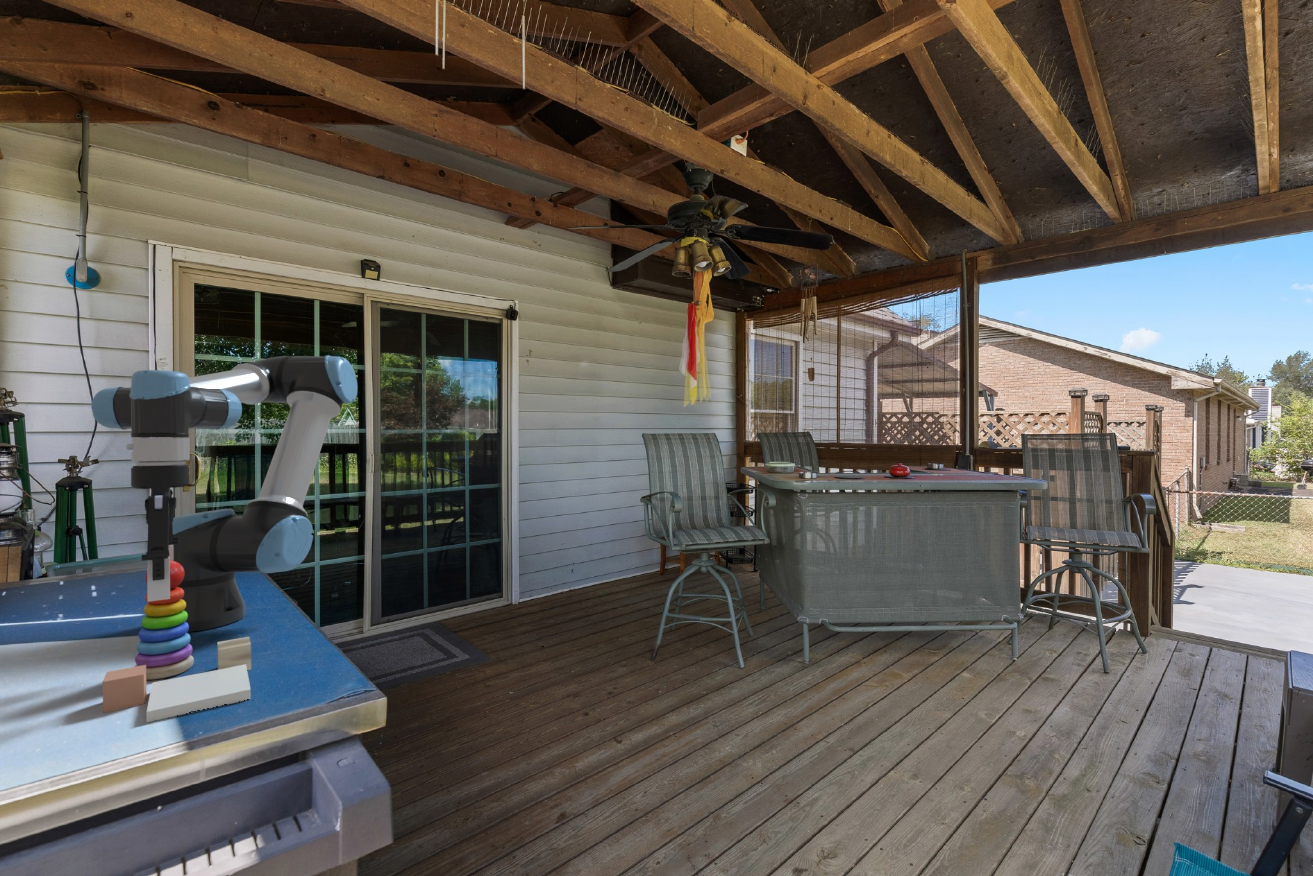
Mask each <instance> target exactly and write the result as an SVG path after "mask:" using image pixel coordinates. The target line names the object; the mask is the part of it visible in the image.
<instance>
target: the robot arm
mask: <svg viewBox="0 0 1313 876" xmlns="http://www.w3.org/2000/svg"><path fill="white" fill-rule="evenodd" d="M356 375H357V374H356V372H355V370H354V368H353V366H352V364H351V363H350V362H349V360H348V359H346V358H344V357H342V356H333V355H329V354H328V355H327V354H326V355H325V356H321V355H320V356H317V355H316V356H310V355H309V356H308V355H305V356H304V355H292V356H291V355H282V356H273V357H269V358H264V359H260V360H256V361H251V362H246V363H241V364H237V365H236V366H234V367H233V368H231V370H225V371H221V372H215V373H209V374H203V375H198V376H191V377H189V376H188V375H187V373H184V372H181V371H174V370H161V369H160V370H157V369H156V370H155V369H152V370H151V369H145V370H144V369H142V370H137V371H135V372H134V373H133V374H132V376H131V381H130V382H131V384H130V387H124V386H117V387H107V388H103V389H101V390H99V391H98V392H96V394H95V395H94V396H93V398H92V400H91V404H90V405H91V413H92V416H93V418H94V419H95V422H96V423H98V424H99V425H101V426H103V427H105V428H107V429H108V428H109V429H120V430H131V432H130V438H131V441H130V442H132V443H127V444H126V446H125V448H126V450H128V451H131V452H130V453H131V455H130V456H131V459H130V460H131V462H133V463H136V465H132V467H131V468H130V486H131V487H132V488H133V489H138V490H146V489H150V495H149V496H148V498H146V499H145V500H144V511H145V512H146V513H145V522H146V524H147V547H146V548H147V550H146V553H145V554H141V561H142V562H144V561H147V562H146V563H147V570H146V573H147V582H146V584H147V585H146V586H147V591H146V594H147V598H148V602H150V601H157V600H165V599H170V560H171V561H175V562H178V563H179V564H181V565H182V567H183V569H184V573H185V574H184V578H183V580H182V582H181V583H180V584H179V585H178V586H177V587H179V588H181V589H183V591H184V596H183V597H182V598H181V599H182V600H184V601H185V602H186V607H185V609H184V611H186V612H187V614H188V618H187V620H186V621H185V622H187V623H188V625H189V629H188V631H187V633H190V632H196V631H205V630H209V629H210V630H211V629H215V628H218V627H222V626H223V627H224V626H225V625H226V626H227V625H229V624H230V625H231V624H232V623H236V622H237V621H240V620H242V619H243V618H244V617H245V616H246V603H245V601H244V599H243V596H242V593H241V592H240V590H239V587H238V584H237V582H236V573H264V574H272V573H279V572H288V571H291V570H294V569H295V568H296V567H298V566H299V565H300V564H301V563H303V562H304V561H305V559H306V558H307V556H308V554H309V552H310V550H311V547H312V545H313V544H312V543H313V539H314V535H312V534H313V532H314V529H313V524H312V523H311V521H310V520H309V519H308V516H309V515H308V512H307V511H306V509H305V508H304V503H305V499H306V497H307V494H308V491H309V488H310V484H311V481H312V478H313V475H314V471H315V469H316V467H317V466H316V465H317V462H318V460H319V457H320V454H321V453H320V452H321V450H322V447H323V444H324V441H325V437H326V435H327V431H328V428H329V426H330V422H331V420H332V419H333V418H336V417H338V416H339V415H340V414H341V410H342V408H343V405H348V404H352V403H353V402H355V400H356V399H357V395H358V381H357V376H356ZM242 403H243V404H245V405H257V404H260V403H273V404H275V403H278V404H287V405H288V406H289V407H290V410H289V413H288V415H287V419H286V421H285V423H284V426H283V429H282V432H281V433H280V434H281V435H280V438H279V440H278V442H277V445H276V448H275V450H274V454H273V456H272V459H271V461H270V465H269V466H268V470H267V473H266V476H265V478H264V481H263V483H262V487H261V489H260V492H259V495H258V497H257V498H254V499H253V500H250V501H248V502H247V504H246V506H245V509H244V511H243V514H242V515H236V512H235V510H234V509H233V508H224V509H221V508H220V509H216V510H208V511H202V512H195V513H189V514H183V515H178V516H176V508H177V497H174V496H173V493H174V491H173V489H174V488H175V489H176V488H184V487H187V486H189V484H190V466H189V464H186V462H188V461H190V455H191V454H190V452H191V451H190V449H191V447H190V445H191V444H190V443H191V441H190V439H191V438H190V437H189V436H190V429H191V430H195V429H196V430H197V429H198V430H220V429H222V430H223V429H229V428H231V427H233V426H235V425H236V424H237V423H238V422H239V420H240V419H241V417H242V412H243V406H242ZM171 488H173V489H171ZM148 602H147V603H148Z"/></svg>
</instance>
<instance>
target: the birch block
mask: <svg viewBox="0 0 1313 876" xmlns="http://www.w3.org/2000/svg"><path fill="white" fill-rule="evenodd" d="M245 664H246V666H247V670H248V671H252V643H251V639H250V636H245V637H244V636H243V637H239V638H233V639H228V640H222V641H217V670H219V669H224V668H229V667H235V666H240V665H245Z"/></svg>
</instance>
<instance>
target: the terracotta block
mask: <svg viewBox="0 0 1313 876" xmlns="http://www.w3.org/2000/svg"><path fill="white" fill-rule="evenodd" d="M146 696H147V680H146V665H142V666H137V667H135V666H132V667H127V668H121V669H115V670H111V671H110V670H109V671H106V672H105V676H104V678H103V680H102V712H103V713H107V712H111V711H116V710H117V711H118V710H122V709H126V708H130V707H135V706H139V705H140V706H141V705H144V704H145V702H146Z"/></svg>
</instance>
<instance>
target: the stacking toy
mask: <svg viewBox="0 0 1313 876" xmlns="http://www.w3.org/2000/svg"><path fill="white" fill-rule="evenodd" d="M184 574H185V573H184V569H183V567H182V565H181V564H179V563H178V562H175V561H171V560H170V599H165V600H157V601H150V602H148V598H147V593H146V595H144V596H145V601H146V602H147V604H146V605H144V608H143V613H144V615H145V616H143V618H142V619H141V626H142V627H143V628H141V629H140V630H139V632H138V638H139V641H138V642H137V644H136V650H137V654H135V657H134V662H135V666H134V667H137V666H142V665H146V681H147V680H148V681H152V680H159V679H161V680H162V679H165V678H170V677H174V676H177V675H179V674H183V672H186V671H188V670H189V669H191V667H192V666H193V665H194V662H195V658H194V657H193V656H192V653H193V646H192V644H190V642H191V639H192V638H191V635H190V634H189V632H187V631H188V629H189V625H188V623H187V622H185V621H186V620H187V618H188V614H187V612H186V611H184V609H185V607H186V602H185V601H184V600H182V599H181V598H182V597H183V596H184V591H183V589H181V588H179V587H177V586H178V585H179V584H180V583H181V582H182V580H183V578H184ZM145 582H146V583H147V572H146V574H145Z"/></svg>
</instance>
